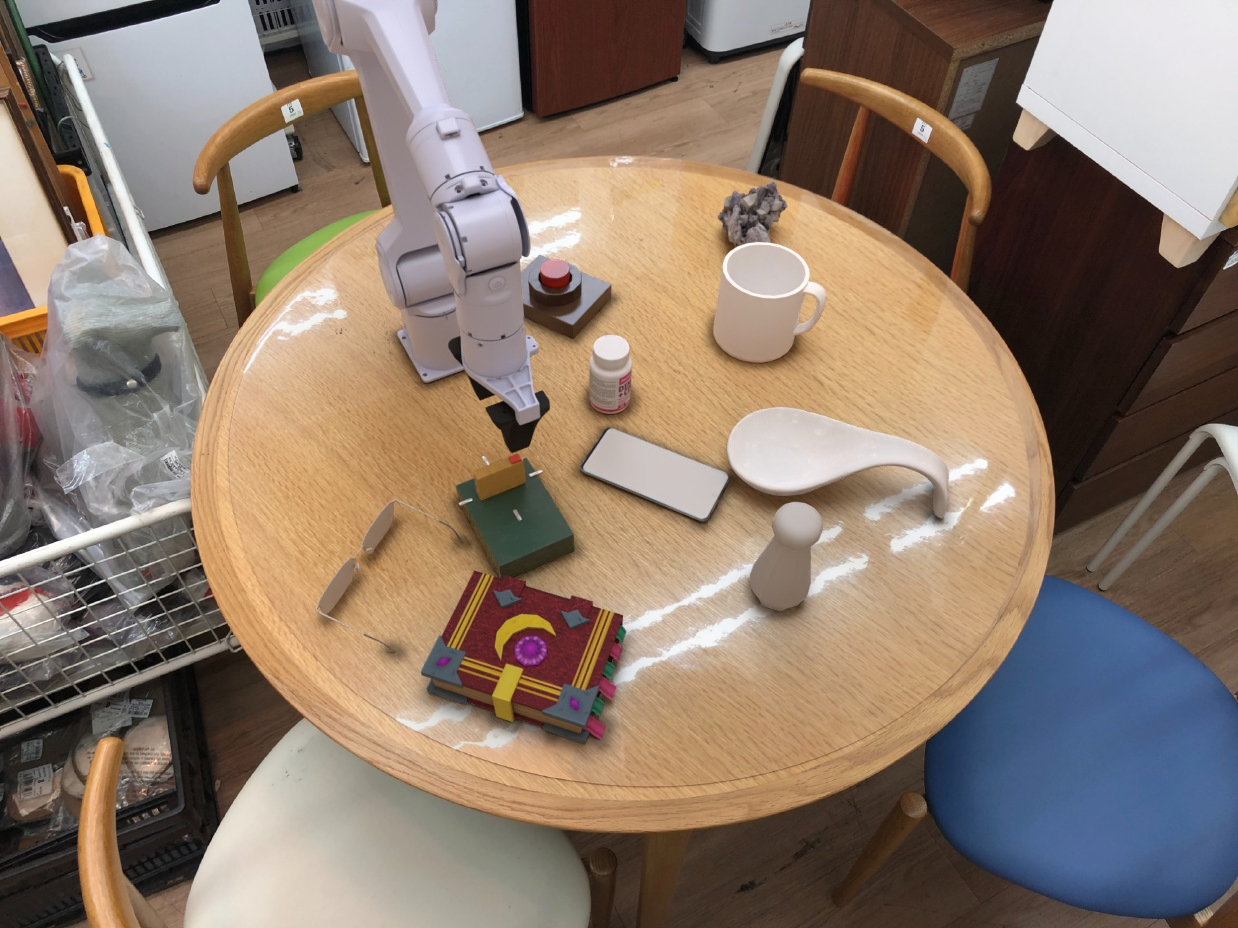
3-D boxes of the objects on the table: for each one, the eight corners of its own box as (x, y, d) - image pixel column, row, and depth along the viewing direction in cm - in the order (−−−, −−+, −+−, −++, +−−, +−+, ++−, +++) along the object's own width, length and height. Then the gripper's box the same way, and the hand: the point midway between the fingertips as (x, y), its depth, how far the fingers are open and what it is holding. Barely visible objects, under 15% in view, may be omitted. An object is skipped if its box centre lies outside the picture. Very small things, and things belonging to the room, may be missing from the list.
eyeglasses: (397, 514, 92) (393, 492, 89) (466, 543, 91) (465, 522, 87) (319, 625, 84) (311, 605, 81) (394, 659, 83) (389, 640, 79)
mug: (700, 348, 108) (709, 282, 100) (728, 299, 114) (739, 233, 106) (799, 380, 105) (817, 315, 97) (823, 328, 111) (841, 263, 103)
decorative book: (478, 590, 87) (473, 563, 83) (636, 638, 84) (638, 612, 80) (427, 694, 80) (418, 670, 76) (597, 750, 77) (597, 728, 73)
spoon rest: (715, 500, 94) (723, 458, 88) (732, 420, 101) (740, 375, 96) (942, 547, 91) (966, 506, 85) (943, 460, 98) (965, 417, 93)
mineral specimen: (769, 262, 113) (768, 180, 110) (702, 263, 117) (700, 184, 115) (800, 254, 123) (800, 179, 120) (737, 256, 128) (736, 183, 125)
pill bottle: (625, 418, 101) (628, 366, 94) (585, 411, 101) (584, 358, 95) (633, 388, 104) (636, 335, 97) (594, 382, 104) (594, 329, 98)
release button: (535, 282, 110) (534, 271, 108) (551, 267, 112) (550, 255, 110) (559, 293, 109) (558, 282, 107) (575, 277, 111) (575, 265, 109)
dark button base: (500, 306, 112) (497, 281, 109) (540, 267, 117) (538, 243, 114) (573, 339, 109) (572, 314, 106) (611, 297, 114) (612, 273, 111)
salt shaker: (742, 569, 89) (761, 491, 79) (798, 565, 89) (824, 488, 79) (752, 621, 85) (774, 546, 75) (811, 617, 86) (840, 542, 75)
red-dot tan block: (480, 501, 90) (477, 477, 87) (476, 492, 90) (472, 469, 87) (526, 482, 91) (523, 459, 88) (521, 474, 92) (518, 451, 89)
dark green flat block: (445, 490, 94) (441, 472, 92) (524, 459, 97) (523, 440, 94) (496, 585, 87) (493, 568, 85) (579, 548, 90) (579, 530, 87)
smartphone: (607, 425, 99) (731, 474, 95) (607, 428, 100) (731, 477, 96) (578, 468, 95) (706, 521, 91) (578, 471, 96) (705, 524, 92)
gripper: (569, 356, 75) (572, 457, 85) (499, 257, 82) (510, 361, 93) (492, 384, 72) (504, 484, 83) (428, 279, 80) (446, 383, 91)
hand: (503, 420), depth 88 cm, fingers open, 7 cm apart
